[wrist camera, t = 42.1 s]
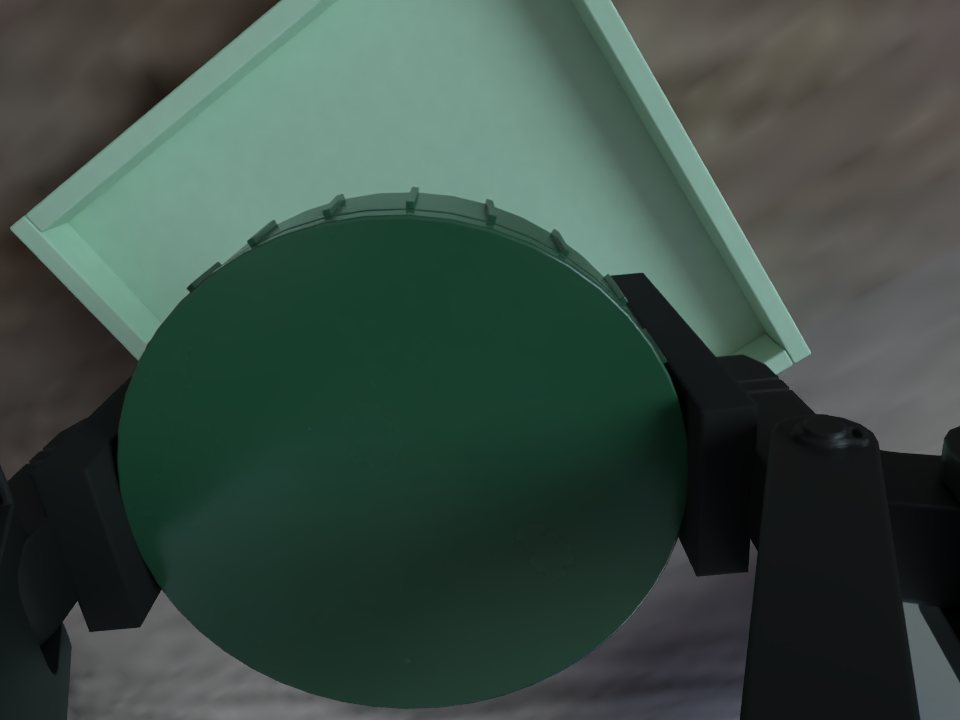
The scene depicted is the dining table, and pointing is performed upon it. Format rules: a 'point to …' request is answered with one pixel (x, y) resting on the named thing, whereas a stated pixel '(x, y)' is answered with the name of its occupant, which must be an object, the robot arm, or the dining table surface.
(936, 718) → the mug
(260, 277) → the lid
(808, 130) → the dining table surface
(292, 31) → the tray
